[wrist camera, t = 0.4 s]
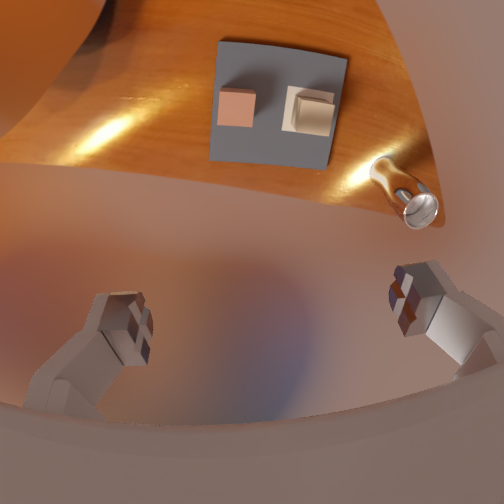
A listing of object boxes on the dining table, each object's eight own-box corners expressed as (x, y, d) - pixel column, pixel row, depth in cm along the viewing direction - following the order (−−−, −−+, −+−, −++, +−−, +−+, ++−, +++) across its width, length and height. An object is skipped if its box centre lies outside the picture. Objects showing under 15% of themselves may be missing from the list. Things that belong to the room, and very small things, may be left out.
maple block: (295, 94, 44) (301, 99, 40) (325, 99, 45) (334, 105, 41) (290, 123, 47) (296, 131, 43) (320, 127, 48) (328, 136, 44)
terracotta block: (220, 87, 43) (219, 91, 39) (253, 89, 43) (255, 94, 39) (218, 117, 46) (217, 124, 42) (250, 119, 46) (252, 127, 42)
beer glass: (396, 187, 56) (434, 229, 44) (365, 188, 56) (399, 232, 44) (401, 154, 52) (443, 191, 40) (368, 154, 52) (407, 192, 40)
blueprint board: (218, 41, 39) (218, 41, 38) (344, 59, 41) (347, 59, 40) (209, 158, 51) (209, 160, 50) (324, 167, 53) (325, 170, 52)
